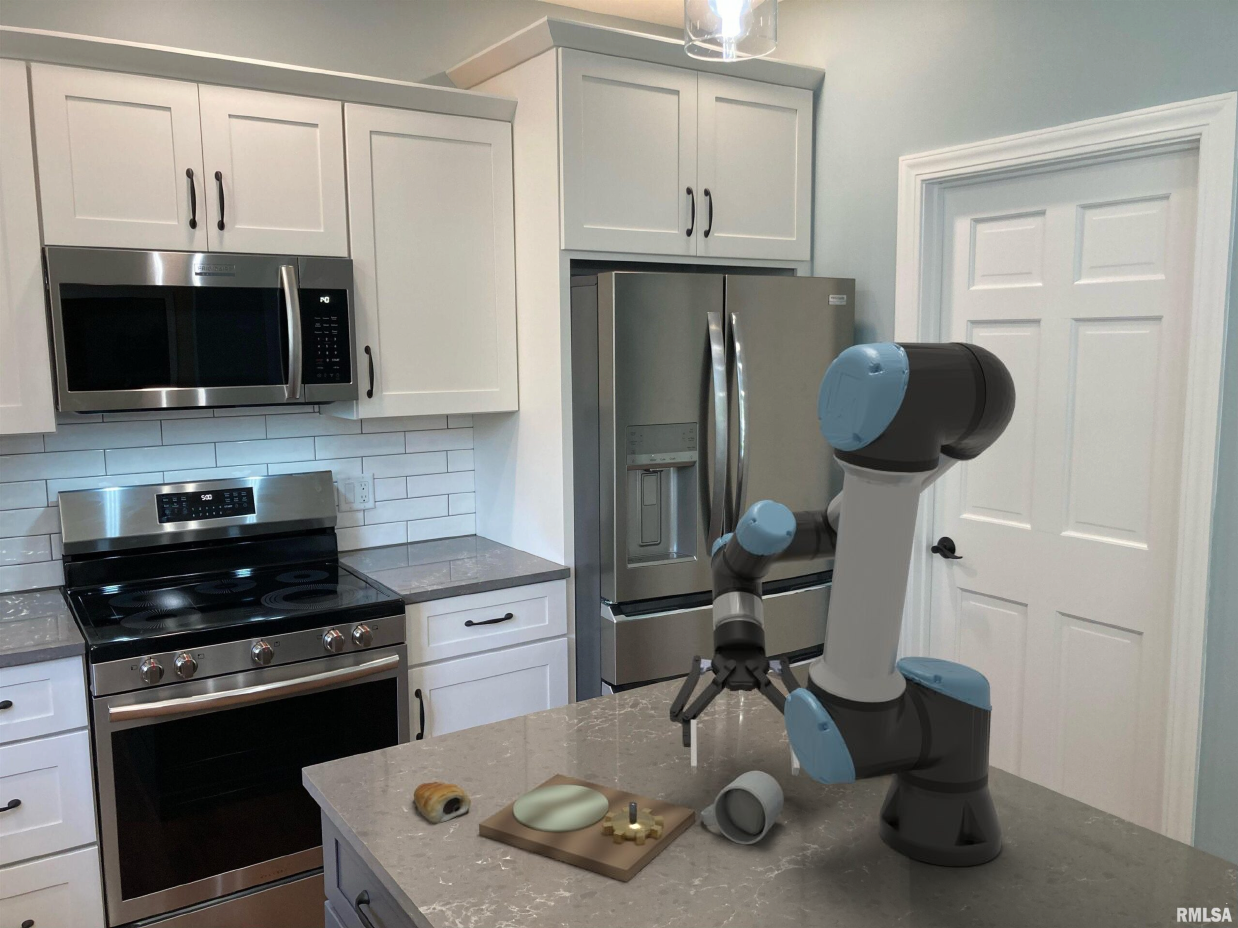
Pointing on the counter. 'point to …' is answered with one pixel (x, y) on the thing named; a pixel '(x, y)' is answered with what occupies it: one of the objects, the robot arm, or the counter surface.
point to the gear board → (583, 826)
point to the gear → (633, 825)
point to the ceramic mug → (746, 807)
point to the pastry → (441, 801)
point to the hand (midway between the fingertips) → (744, 770)
